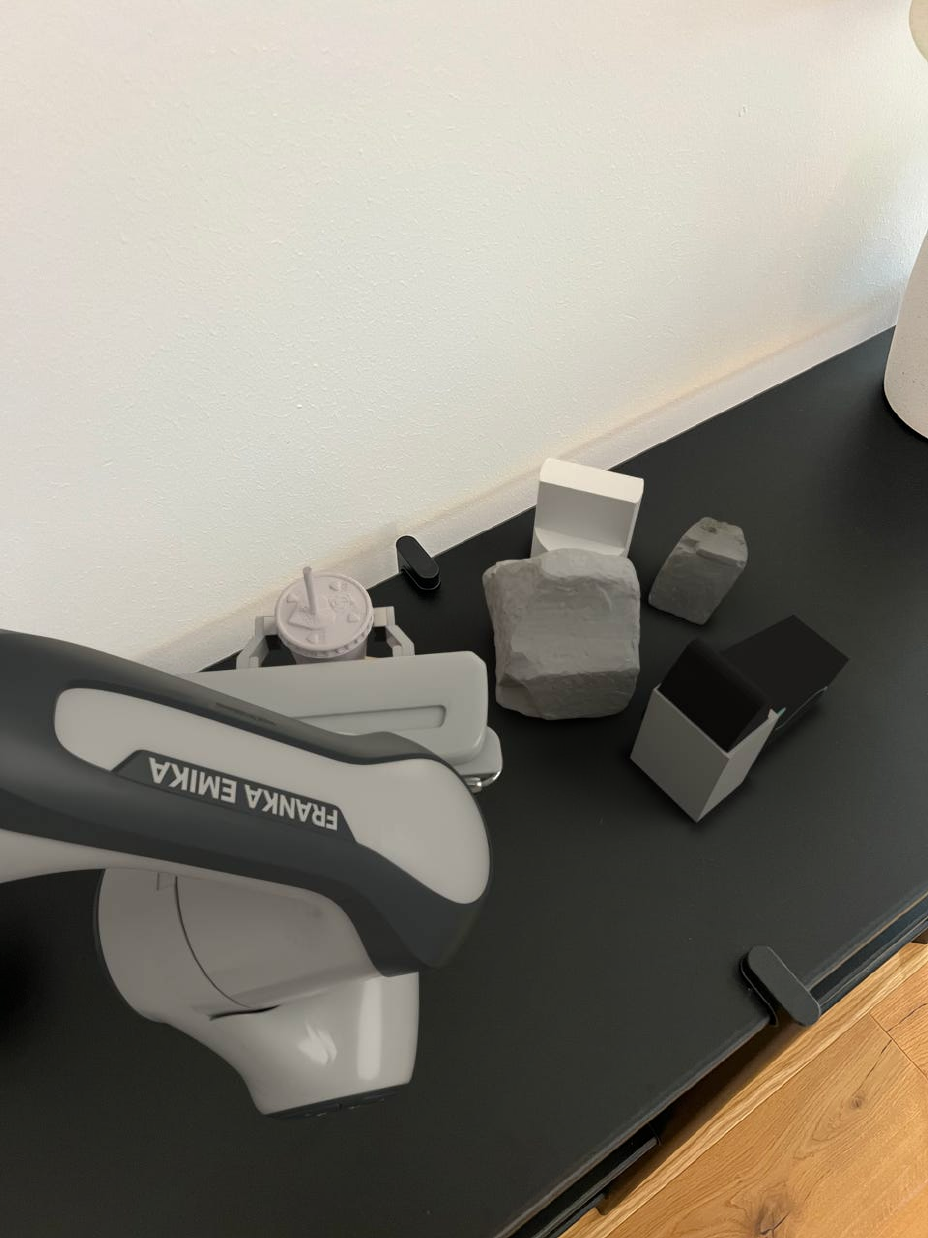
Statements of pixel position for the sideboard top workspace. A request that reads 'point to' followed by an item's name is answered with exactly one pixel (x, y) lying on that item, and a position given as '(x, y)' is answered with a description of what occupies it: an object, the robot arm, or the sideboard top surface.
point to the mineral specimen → (700, 570)
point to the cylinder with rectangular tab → (585, 509)
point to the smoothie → (324, 618)
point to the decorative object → (729, 709)
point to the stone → (565, 633)
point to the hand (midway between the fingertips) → (325, 616)
